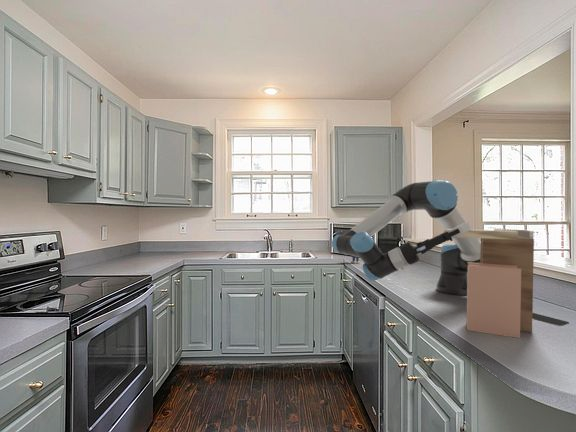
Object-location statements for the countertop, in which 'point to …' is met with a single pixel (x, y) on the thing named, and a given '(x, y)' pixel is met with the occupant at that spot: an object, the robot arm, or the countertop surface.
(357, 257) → the toy
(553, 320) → the smartphone
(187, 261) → the countertop surface
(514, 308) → the pink rectangular box
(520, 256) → the stand
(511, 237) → the slat
